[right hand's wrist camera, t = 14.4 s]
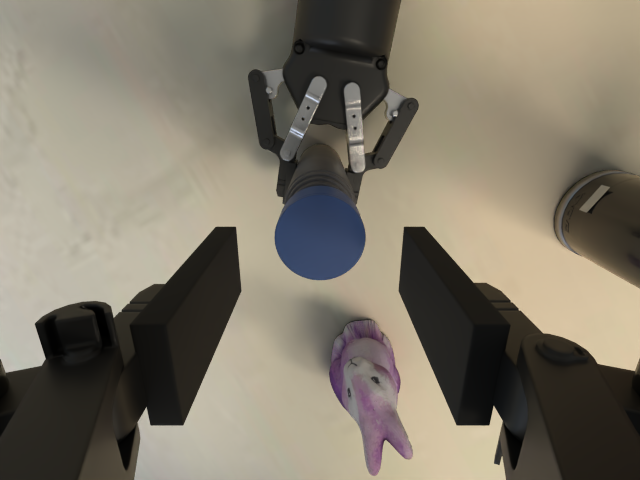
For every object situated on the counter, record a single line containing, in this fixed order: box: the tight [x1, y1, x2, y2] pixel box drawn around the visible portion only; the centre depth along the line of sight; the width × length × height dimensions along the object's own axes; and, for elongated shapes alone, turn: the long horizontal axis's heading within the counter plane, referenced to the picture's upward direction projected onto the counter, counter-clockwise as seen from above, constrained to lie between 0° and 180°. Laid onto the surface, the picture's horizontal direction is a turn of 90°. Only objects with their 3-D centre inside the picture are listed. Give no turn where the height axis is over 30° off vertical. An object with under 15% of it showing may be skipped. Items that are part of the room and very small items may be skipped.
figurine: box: [329, 320, 413, 476], centre depth 37 cm, size 9×10×15 cm
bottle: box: [284, 144, 356, 205], centre depth 27 cm, size 4×4×22 cm
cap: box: [275, 186, 365, 280], centre depth 17 cm, size 4×4×2 cm
